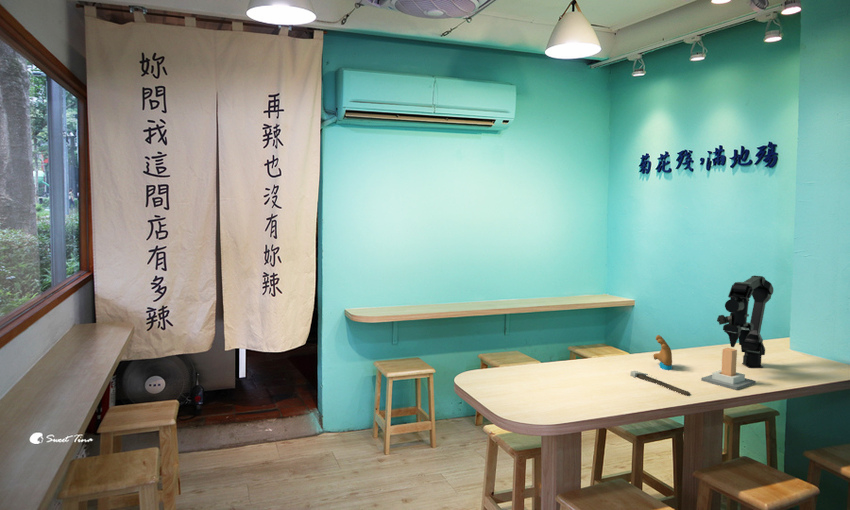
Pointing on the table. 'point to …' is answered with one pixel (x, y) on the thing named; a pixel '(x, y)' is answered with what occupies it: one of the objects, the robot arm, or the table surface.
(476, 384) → the table surface
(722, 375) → the housing
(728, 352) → the tan square peg
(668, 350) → the toy
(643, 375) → the axe
